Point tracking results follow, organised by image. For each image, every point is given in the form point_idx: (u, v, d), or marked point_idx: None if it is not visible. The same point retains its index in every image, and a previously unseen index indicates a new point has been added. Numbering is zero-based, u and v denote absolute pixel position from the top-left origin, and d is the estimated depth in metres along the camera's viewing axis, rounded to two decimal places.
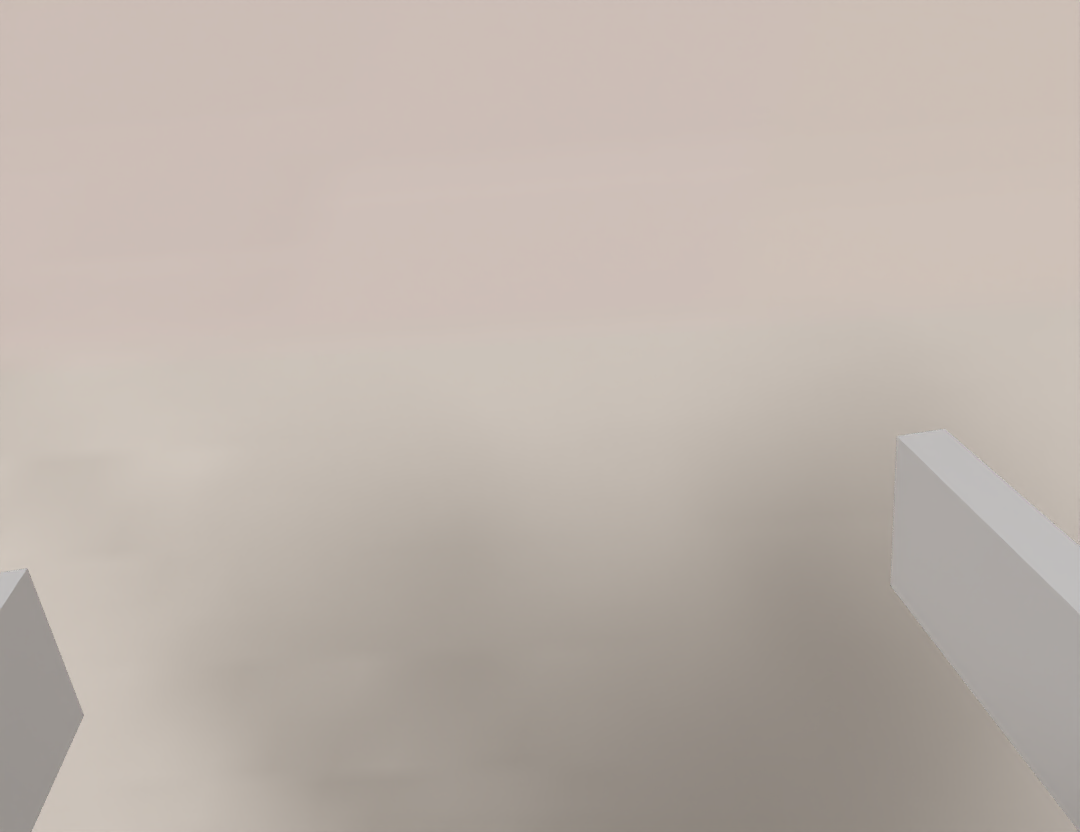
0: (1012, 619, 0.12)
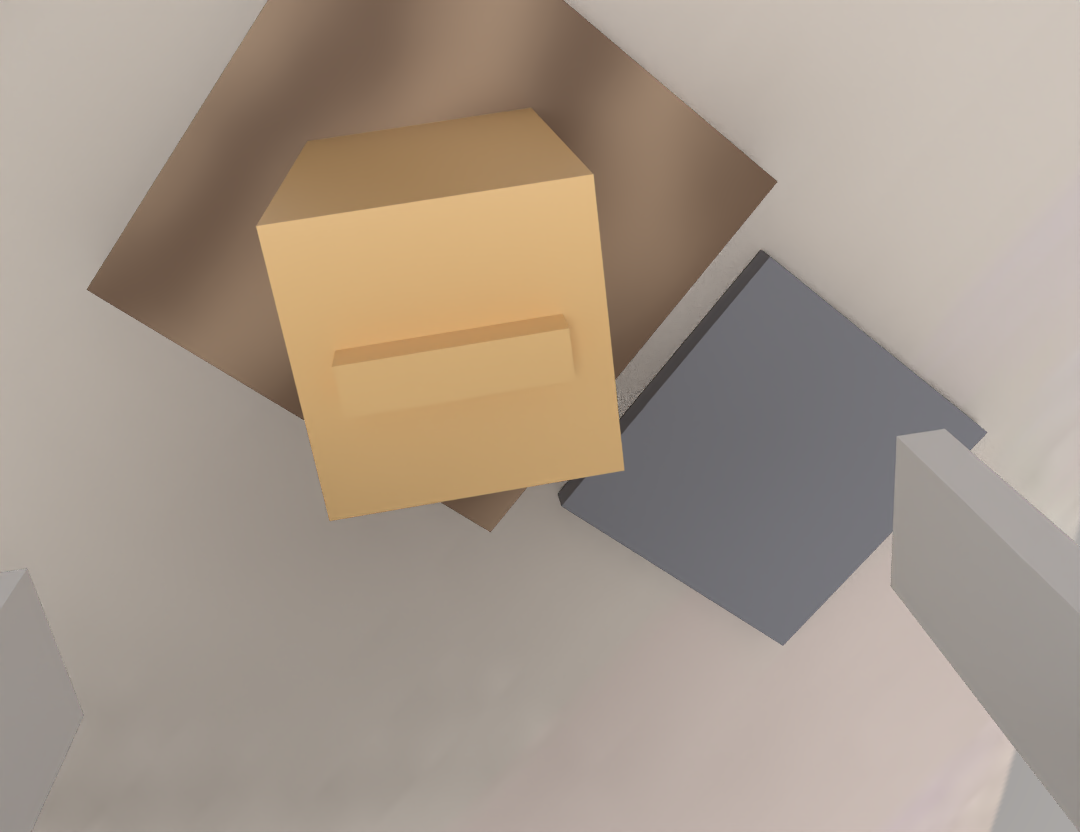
0: (1012, 619, 0.12)
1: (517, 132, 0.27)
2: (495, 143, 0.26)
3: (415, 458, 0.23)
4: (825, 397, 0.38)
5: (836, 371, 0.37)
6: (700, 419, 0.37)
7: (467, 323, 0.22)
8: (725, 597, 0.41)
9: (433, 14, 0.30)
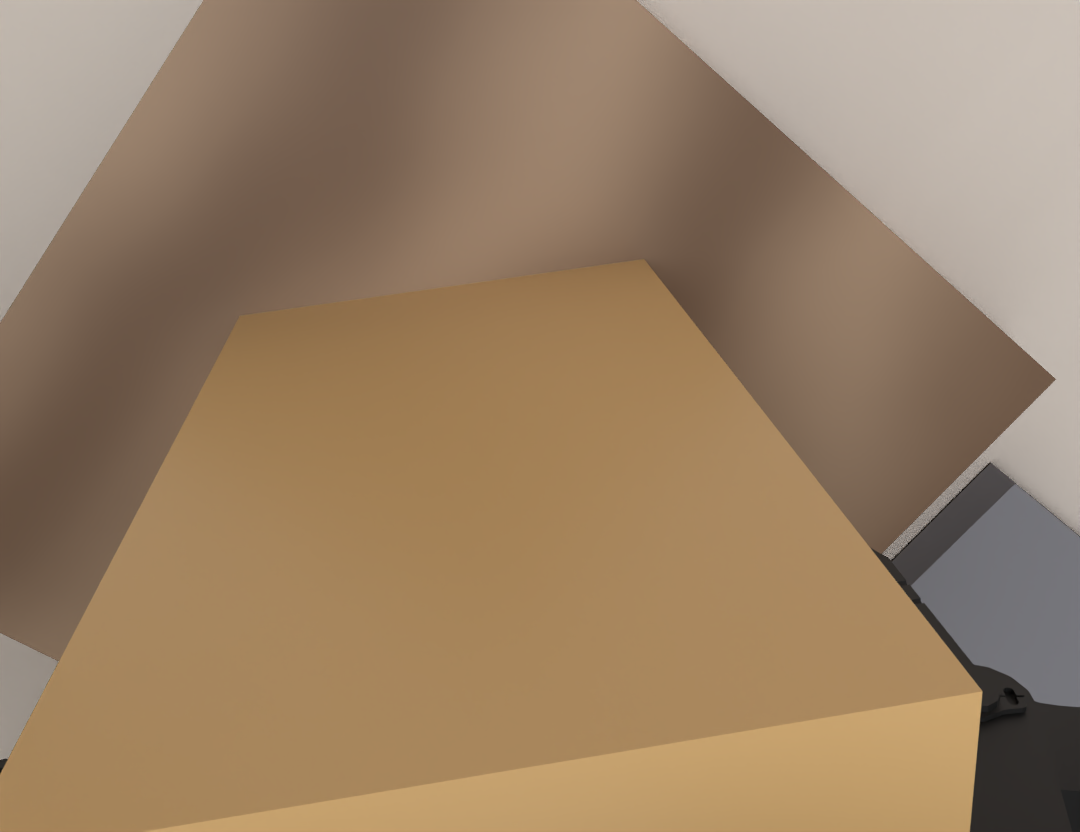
0: None
1: (647, 356, 0.13)
2: (611, 401, 0.12)
3: None
4: (1073, 684, 0.24)
5: None
6: None
7: None
8: None
9: (475, 95, 0.16)
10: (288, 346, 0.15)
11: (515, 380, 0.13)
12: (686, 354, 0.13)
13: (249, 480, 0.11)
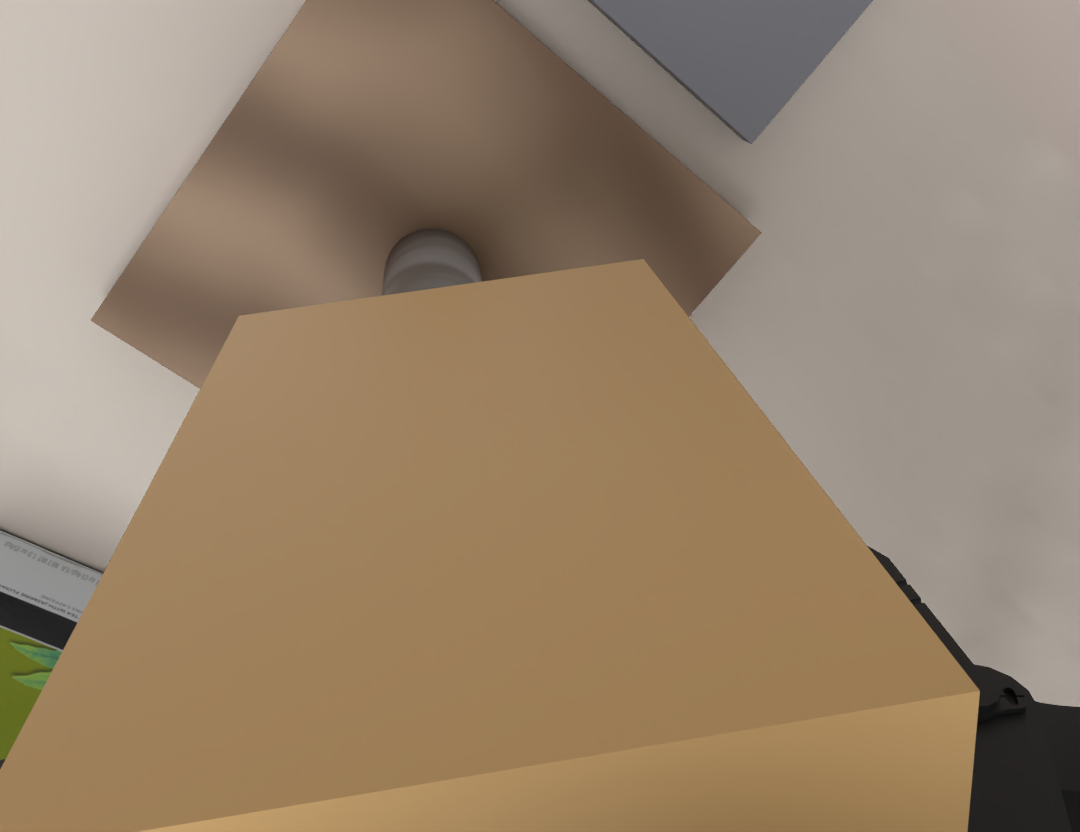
0: None
1: (646, 356, 0.13)
2: (610, 401, 0.12)
3: None
4: None
5: None
6: None
7: None
8: None
9: (229, 273, 0.33)
10: (287, 346, 0.15)
11: (514, 380, 0.13)
12: (685, 354, 0.13)
13: (248, 480, 0.11)
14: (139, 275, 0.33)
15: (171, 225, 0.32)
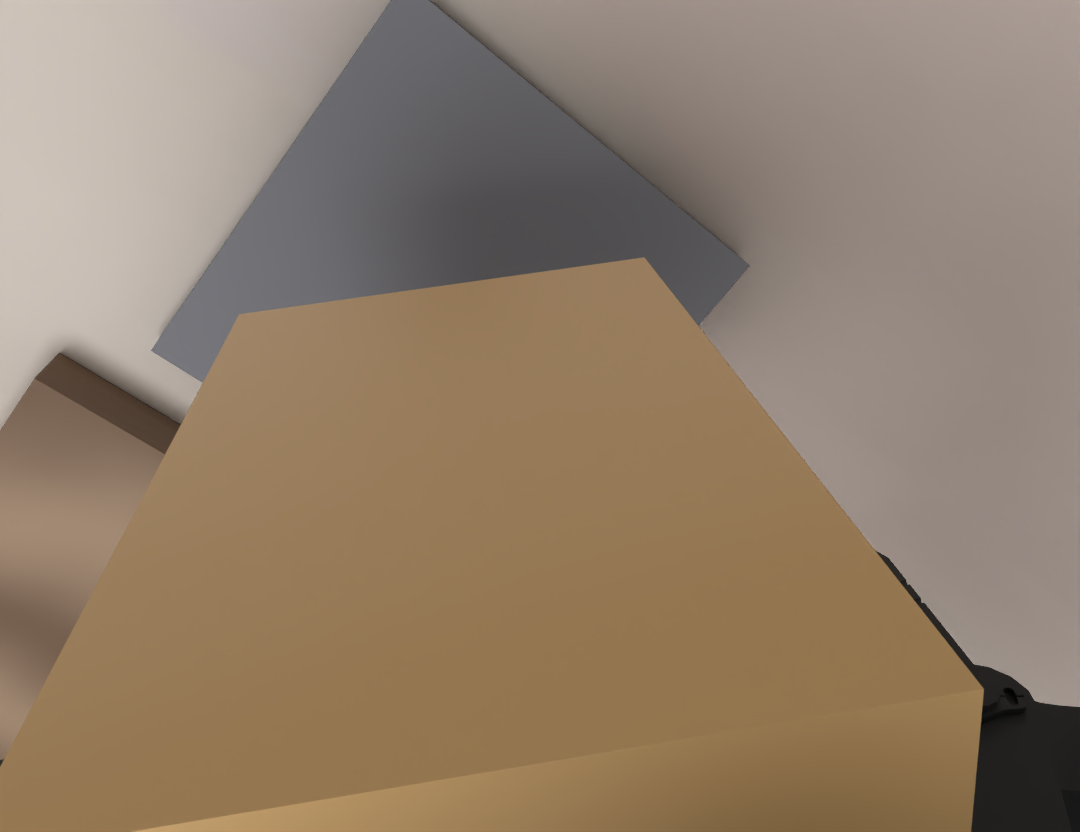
0: None
1: (647, 354, 0.13)
2: (611, 399, 0.12)
3: None
4: (346, 252, 0.27)
5: (307, 242, 0.27)
6: None
7: None
8: None
9: None
10: (288, 344, 0.15)
11: (515, 378, 0.13)
12: (686, 352, 0.13)
13: (248, 478, 0.11)
14: None
15: None
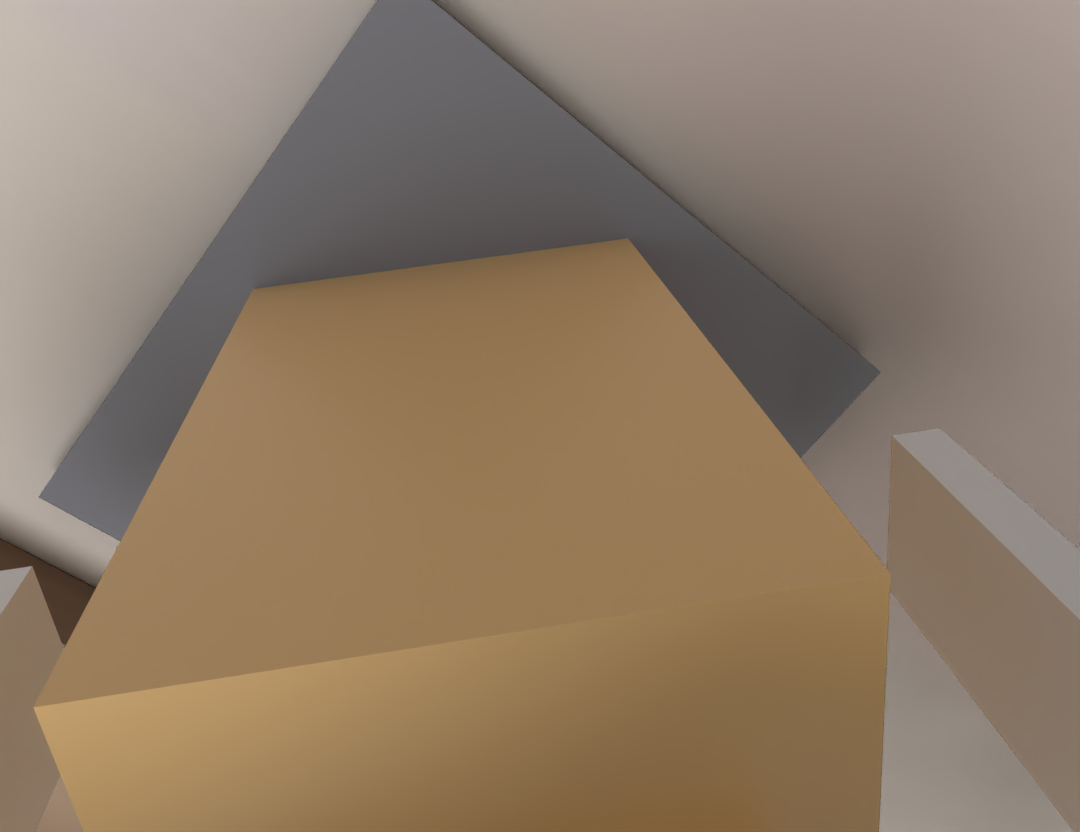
0: (1007, 618, 0.12)
1: (626, 320, 0.15)
2: (592, 358, 0.13)
3: None
4: None
5: None
6: None
7: None
8: None
9: None
10: (299, 314, 0.17)
11: (506, 341, 0.14)
12: (661, 318, 0.15)
13: (268, 423, 0.13)
14: None
15: None
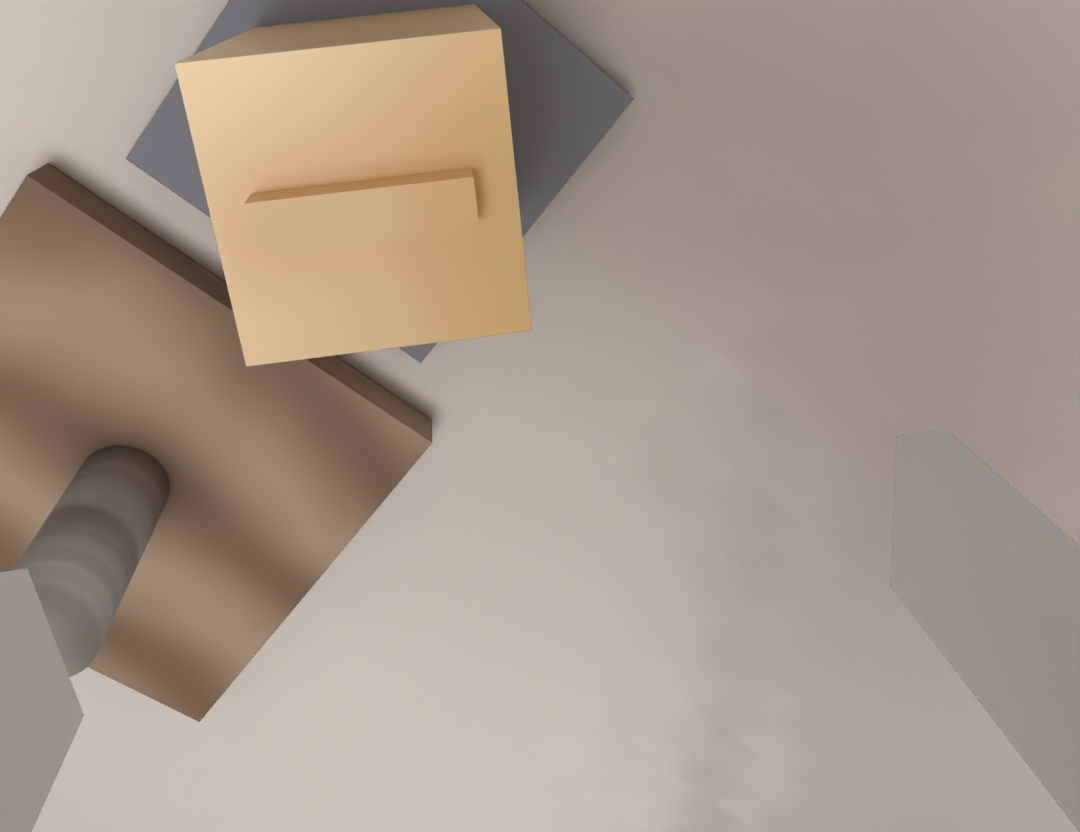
0: (1012, 619, 0.12)
1: (450, 14, 0.28)
2: (425, 20, 0.27)
3: (329, 307, 0.24)
4: None
5: None
6: None
7: (379, 173, 0.23)
8: (553, 178, 0.35)
9: None
10: (280, 28, 0.30)
11: (387, 21, 0.28)
12: (468, 13, 0.28)
13: (262, 39, 0.26)
14: None
15: None
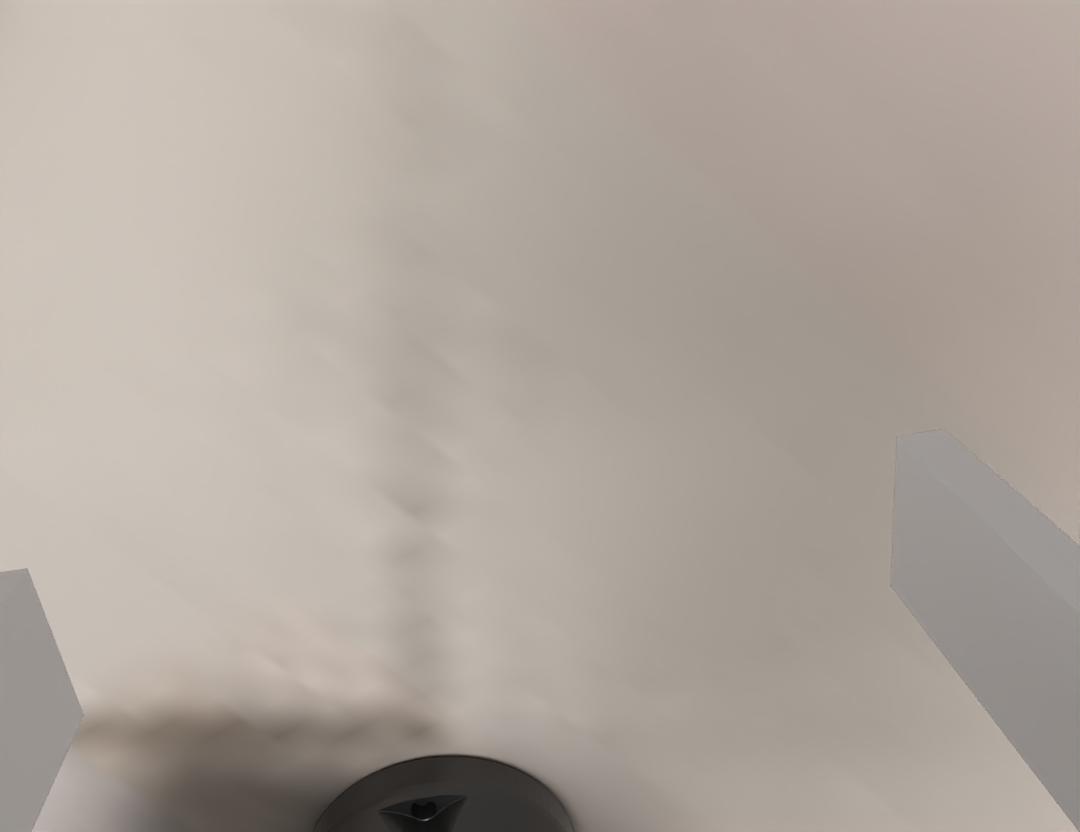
0: (1012, 620, 0.12)
1: None
2: None
3: None
4: None
5: None
6: None
7: None
8: None
9: None
10: None
11: None
12: None
13: None
14: None
15: None
